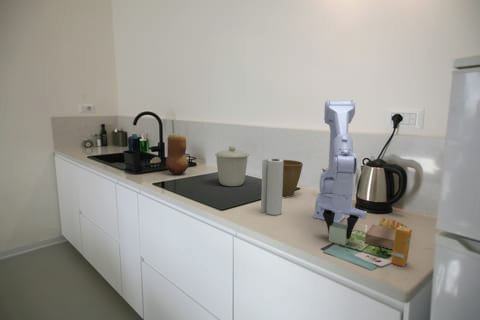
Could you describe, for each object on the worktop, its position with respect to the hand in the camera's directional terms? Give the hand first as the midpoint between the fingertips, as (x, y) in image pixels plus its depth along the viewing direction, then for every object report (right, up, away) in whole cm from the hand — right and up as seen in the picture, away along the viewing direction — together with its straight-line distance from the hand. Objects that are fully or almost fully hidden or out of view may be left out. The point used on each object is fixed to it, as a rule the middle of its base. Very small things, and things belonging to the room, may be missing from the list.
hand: (339, 235), depth 99 cm
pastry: (+21, -1, +10) cm, 23 cm away
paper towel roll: (-18, +3, +26) cm, 32 cm away
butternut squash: (-70, +15, +96) cm, 120 cm away
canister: (-36, +10, +72) cm, 81 cm away
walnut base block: (+14, -2, 0) cm, 15 cm away
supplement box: (+12, -4, -14) cm, 19 cm away
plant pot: (-9, +7, +53) cm, 54 cm away
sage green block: (0, -2, 0) cm, 2 cm away
